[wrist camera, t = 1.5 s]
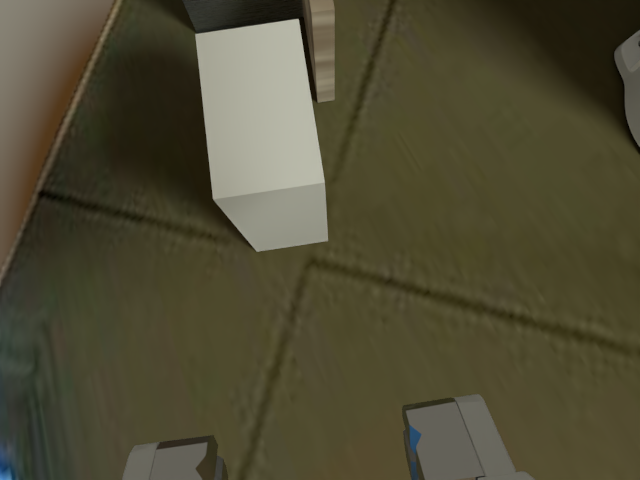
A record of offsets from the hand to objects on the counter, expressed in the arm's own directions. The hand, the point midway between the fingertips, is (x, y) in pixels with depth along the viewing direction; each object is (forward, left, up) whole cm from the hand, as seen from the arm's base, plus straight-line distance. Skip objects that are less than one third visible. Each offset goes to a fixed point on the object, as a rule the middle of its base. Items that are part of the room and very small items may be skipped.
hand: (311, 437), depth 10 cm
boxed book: (-9, -13, -29) cm, 33 cm away
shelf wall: (-22, -21, -29) cm, 42 cm away
